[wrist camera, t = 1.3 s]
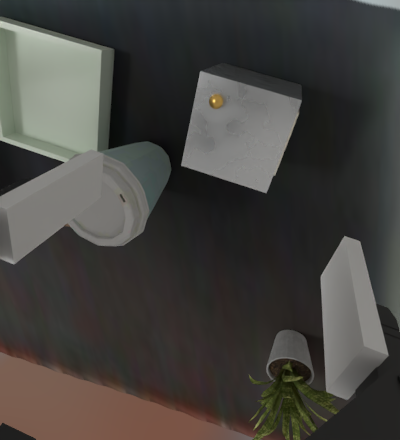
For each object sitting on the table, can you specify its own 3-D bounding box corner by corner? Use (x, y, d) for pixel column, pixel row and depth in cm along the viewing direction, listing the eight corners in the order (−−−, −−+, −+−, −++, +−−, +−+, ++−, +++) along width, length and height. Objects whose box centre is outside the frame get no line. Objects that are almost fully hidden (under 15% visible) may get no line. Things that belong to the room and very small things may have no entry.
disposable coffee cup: (138, 204, 49) (82, 263, 36) (100, 139, 45) (23, 180, 32) (198, 183, 44) (158, 242, 32) (162, 109, 40) (100, 142, 28)
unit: (203, 138, 41) (177, 166, 32) (220, 62, 36) (195, 70, 27) (275, 160, 40) (269, 195, 31) (304, 85, 35) (305, 102, 26)
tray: (14, 134, 48) (-2, 139, 46) (2, 16, 40) (-18, 15, 37) (107, 165, 46) (96, 172, 44) (114, 49, 38) (101, 50, 36)
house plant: (293, 383, 59) (292, 487, 45) (232, 343, 58) (212, 438, 45) (352, 348, 51) (371, 461, 38) (282, 302, 50) (276, 401, 37)
